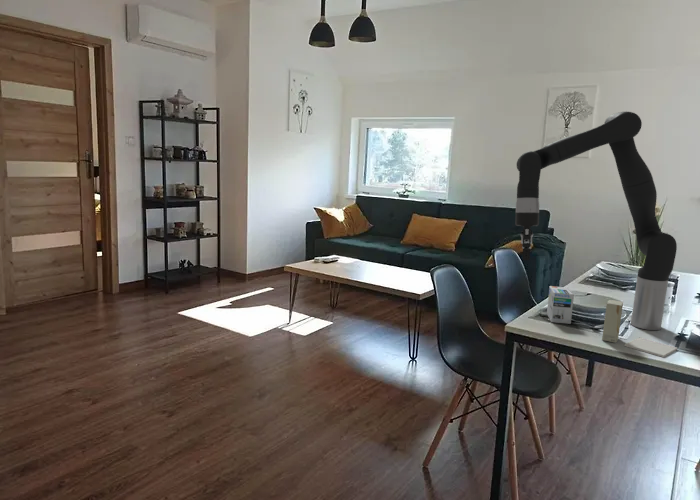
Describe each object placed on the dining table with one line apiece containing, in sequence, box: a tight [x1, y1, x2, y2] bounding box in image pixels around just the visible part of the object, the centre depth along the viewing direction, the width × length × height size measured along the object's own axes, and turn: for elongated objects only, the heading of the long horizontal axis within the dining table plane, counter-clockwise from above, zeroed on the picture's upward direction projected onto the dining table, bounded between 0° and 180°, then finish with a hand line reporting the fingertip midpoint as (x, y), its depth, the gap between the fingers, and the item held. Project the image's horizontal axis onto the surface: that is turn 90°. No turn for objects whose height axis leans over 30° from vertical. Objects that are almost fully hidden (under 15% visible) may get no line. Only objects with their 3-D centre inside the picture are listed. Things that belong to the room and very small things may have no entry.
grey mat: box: [624, 337, 678, 358], centre depth 160 cm, size 11×11×1 cm
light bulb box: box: [546, 285, 575, 325], centre depth 185 cm, size 11×7×11 cm, turn 168°
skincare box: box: [601, 299, 624, 343], centre depth 165 cm, size 6×4×12 cm
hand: (526, 259), depth 176 cm, fingers open, 8 cm apart
